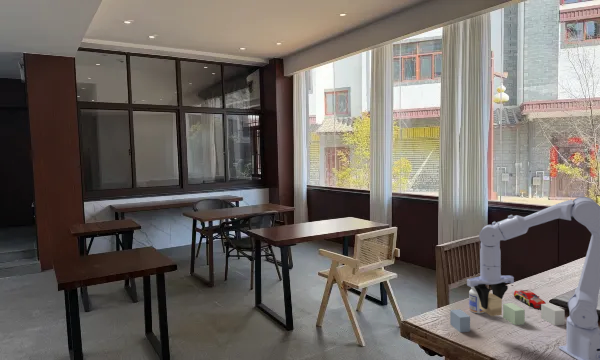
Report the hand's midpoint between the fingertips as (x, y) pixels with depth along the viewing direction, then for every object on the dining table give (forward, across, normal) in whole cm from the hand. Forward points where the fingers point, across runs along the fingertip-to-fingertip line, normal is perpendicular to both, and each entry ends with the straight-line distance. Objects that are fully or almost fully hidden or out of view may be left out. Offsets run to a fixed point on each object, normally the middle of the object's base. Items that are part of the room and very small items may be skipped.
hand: (490, 307), depth 122 cm
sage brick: (+10, -14, -8) cm, 19 cm away
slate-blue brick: (+10, +6, -7) cm, 13 cm away
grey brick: (+10, -26, -5) cm, 28 cm away
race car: (+10, -30, -21) cm, 38 cm away
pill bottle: (+10, -7, -18) cm, 22 cm away
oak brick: (+1, 0, 0) cm, 1 cm away
